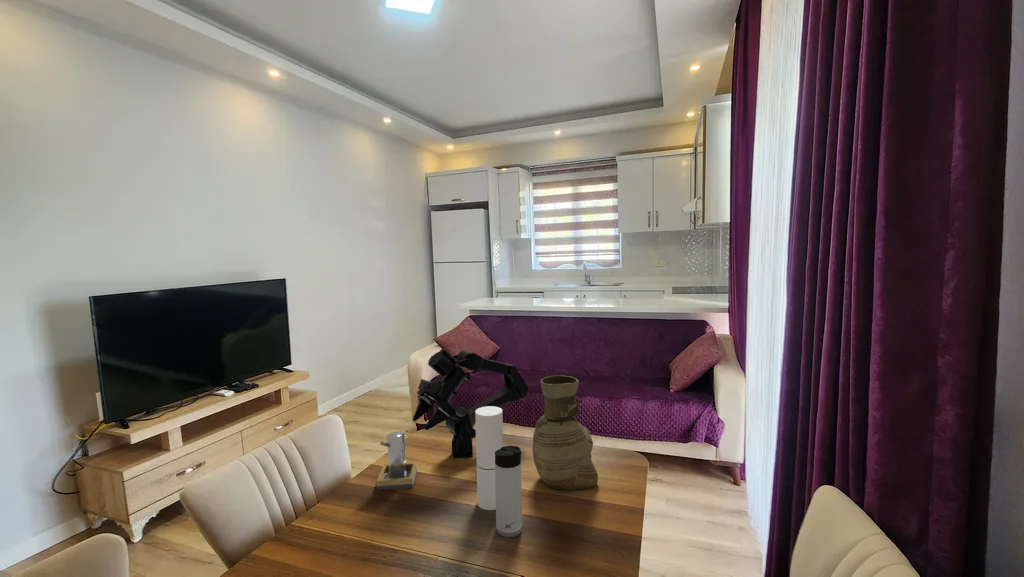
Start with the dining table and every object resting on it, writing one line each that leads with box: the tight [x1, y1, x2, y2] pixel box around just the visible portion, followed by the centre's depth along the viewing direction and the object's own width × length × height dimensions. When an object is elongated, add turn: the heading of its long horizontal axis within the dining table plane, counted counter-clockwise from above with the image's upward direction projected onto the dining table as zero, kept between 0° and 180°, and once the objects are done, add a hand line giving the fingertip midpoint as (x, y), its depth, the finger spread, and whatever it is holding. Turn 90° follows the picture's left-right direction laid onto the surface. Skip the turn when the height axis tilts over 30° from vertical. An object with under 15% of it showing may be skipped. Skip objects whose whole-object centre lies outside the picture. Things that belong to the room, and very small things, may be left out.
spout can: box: [379, 431, 407, 478], centre depth 123 cm, size 7×5×12 cm
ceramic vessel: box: [531, 374, 599, 491], centre depth 123 cm, size 19×21×30 cm
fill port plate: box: [376, 461, 418, 491], centre depth 124 cm, size 10×10×3 cm
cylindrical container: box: [475, 406, 504, 511], centre depth 111 cm, size 7×7×25 cm
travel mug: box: [495, 445, 523, 538], centre depth 100 cm, size 6×7×20 cm
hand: (419, 424), depth 131 cm, fingers open, 9 cm apart
